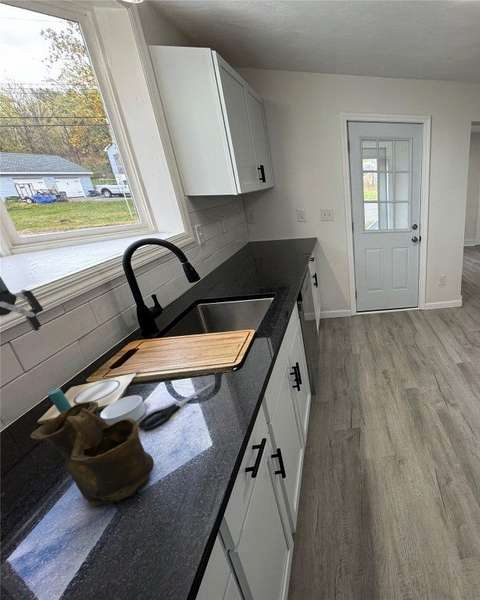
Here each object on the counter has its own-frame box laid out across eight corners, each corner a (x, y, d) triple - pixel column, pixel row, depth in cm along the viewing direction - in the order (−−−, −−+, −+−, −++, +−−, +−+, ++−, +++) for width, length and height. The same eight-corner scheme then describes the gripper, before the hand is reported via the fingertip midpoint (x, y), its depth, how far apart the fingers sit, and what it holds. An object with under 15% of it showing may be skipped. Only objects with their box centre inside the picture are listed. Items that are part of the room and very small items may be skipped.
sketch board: (38, 424, 86) (36, 421, 86) (73, 389, 100) (71, 386, 100) (116, 405, 91) (114, 402, 91) (138, 374, 105) (137, 372, 105)
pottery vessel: (184, 483, 66) (147, 410, 58) (126, 535, 57) (72, 458, 49) (120, 448, 76) (81, 382, 68) (62, 487, 67) (9, 417, 59)
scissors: (207, 380, 99) (135, 425, 83) (206, 378, 98) (134, 423, 82) (221, 385, 96) (149, 434, 80) (220, 383, 95) (147, 431, 79)
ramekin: (104, 421, 85) (97, 408, 84) (143, 402, 91) (137, 390, 90) (110, 436, 80) (102, 423, 78) (151, 415, 86) (145, 403, 84)
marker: (66, 428, 84) (45, 395, 80) (72, 421, 86) (51, 390, 82) (77, 425, 85) (56, 393, 80) (82, 419, 87) (62, 387, 82)
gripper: (11, 266, 78) (45, 323, 85) (-85, 285, 67) (-37, 350, 73) (22, 268, 75) (57, 327, 82) (-77, 289, 64) (-27, 356, 70)
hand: (12, 338), depth 77 cm, fingers open, 8 cm apart
